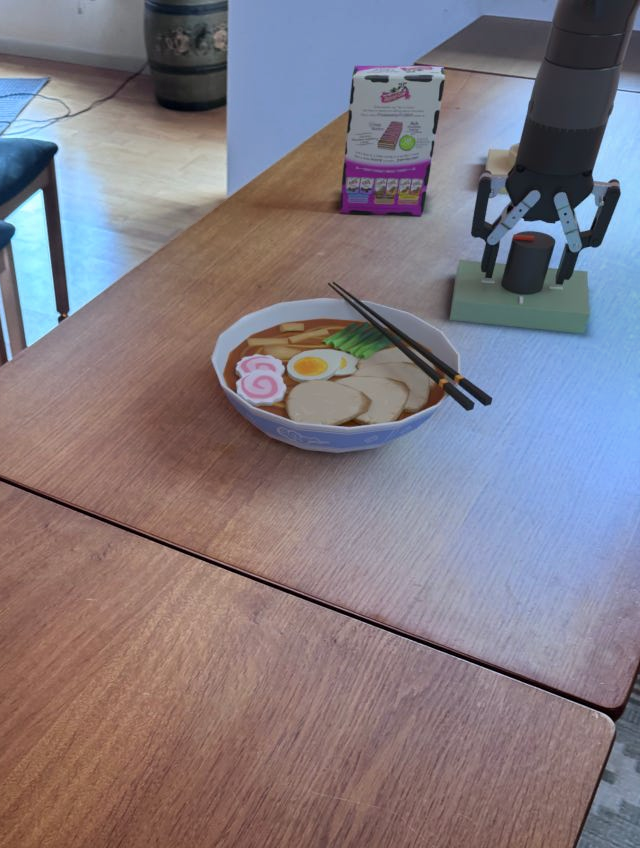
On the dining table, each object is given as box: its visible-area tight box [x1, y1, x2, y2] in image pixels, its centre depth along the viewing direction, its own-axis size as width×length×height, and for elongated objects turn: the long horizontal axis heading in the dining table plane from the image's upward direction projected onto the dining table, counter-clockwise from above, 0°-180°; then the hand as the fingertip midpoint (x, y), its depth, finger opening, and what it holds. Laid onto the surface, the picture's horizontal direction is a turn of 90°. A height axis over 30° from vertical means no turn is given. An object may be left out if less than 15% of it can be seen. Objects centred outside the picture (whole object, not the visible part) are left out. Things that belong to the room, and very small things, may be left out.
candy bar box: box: [338, 65, 446, 217], centre depth 116 cm, size 11×5×16 cm, turn 80°
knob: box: [501, 230, 557, 294], centre depth 98 cm, size 4×4×5 cm
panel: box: [449, 259, 591, 335], centre depth 101 cm, size 14×10×3 cm
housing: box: [484, 142, 520, 195], centre depth 125 cm, size 12×10×4 cm
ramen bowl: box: [210, 281, 494, 454], centre depth 86 cm, size 25×23×8 cm
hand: (523, 278), depth 100 cm, fingers open, 7 cm apart
